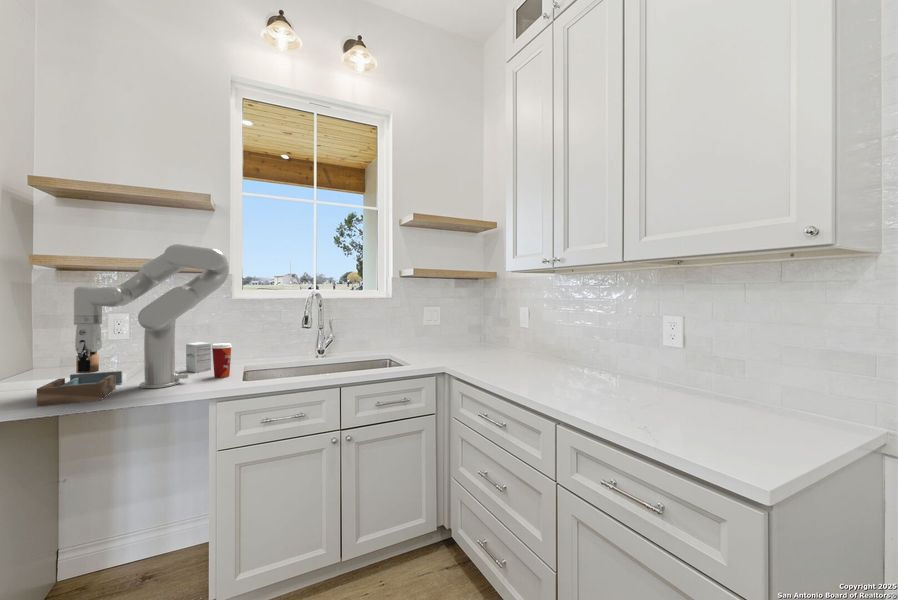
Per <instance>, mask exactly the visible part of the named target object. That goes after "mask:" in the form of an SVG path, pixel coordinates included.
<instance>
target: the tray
mask: <svg viewBox="0 0 898 600" xmlns="http://www.w3.org/2000/svg"><path fill="white" fill-rule="evenodd" d="M109 375H115V382H116V385H122V384H123V370H117V371H116V370H115V371H97V372H92V373H72V374H69V381H67V382H65V384H63V385H61V386H72V385H85V384H96V383H98V382H99V381H101V380H103V379H104V378H106V377H107V376H109Z"/></svg>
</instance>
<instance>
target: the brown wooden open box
mask: <svg viewBox="0 0 898 600" xmlns="http://www.w3.org/2000/svg"><path fill="white" fill-rule="evenodd" d="M65 383H66V378H63V377H61V378H58V379H55V380H53V381H51V382H49V383H46V384H44V385H42V386H40V387H38V388H36V406H37V407H42V406H43V407H44V406H51V405H52V406H53V405H64V404H75V403H84V402H85V403H87V402H95V401H102V400H103V399H105V398H106V397H107V396H109V395H110V394H111V393H113V392H114V391H115V390H116V389H117V388H116V387H117V386H116V385H117V384H116V382H115V375H109V376H107V377H106V378H104V379H103V380H101V381H99V382H98V383H96V384H85V385H72V386H61V385H63V384H65ZM113 390H114V391H113ZM112 391H113V392H112ZM110 392H111V393H110ZM109 393H110V394H109ZM108 394H109V395H108ZM106 395H107V396H106ZM105 396H106V397H105ZM104 397H105V398H104ZM102 398H103V399H102ZM101 399H102V400H101Z"/></svg>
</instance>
